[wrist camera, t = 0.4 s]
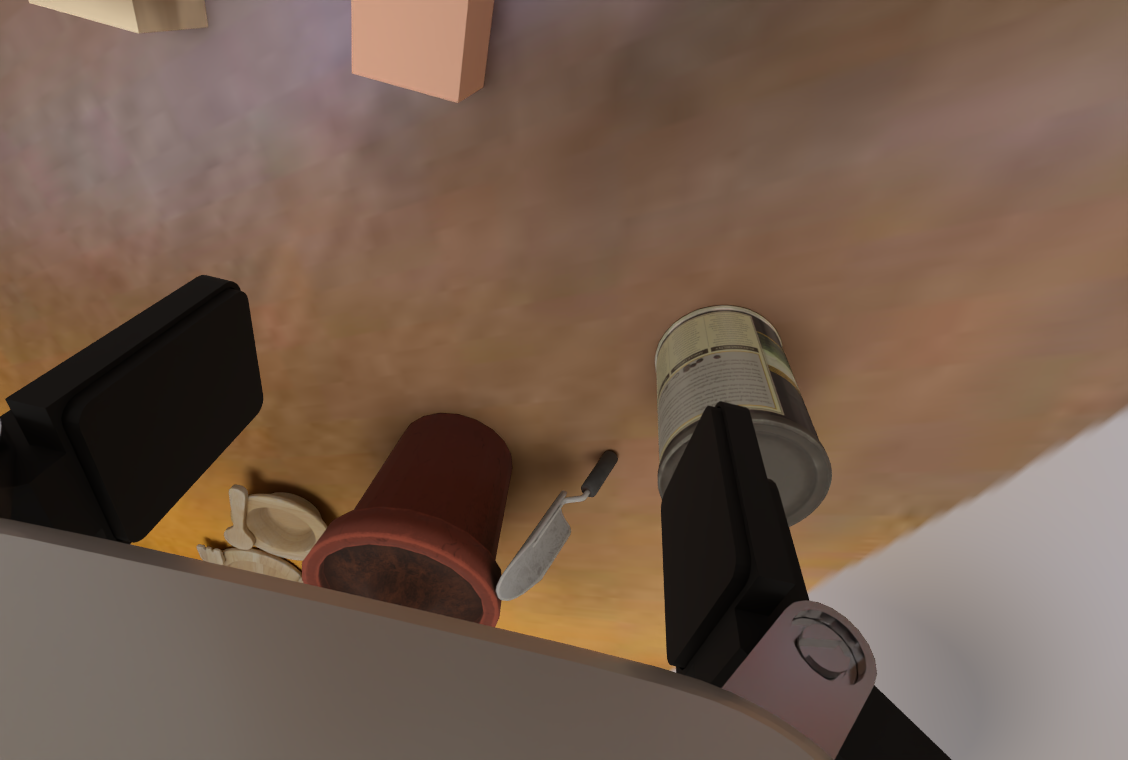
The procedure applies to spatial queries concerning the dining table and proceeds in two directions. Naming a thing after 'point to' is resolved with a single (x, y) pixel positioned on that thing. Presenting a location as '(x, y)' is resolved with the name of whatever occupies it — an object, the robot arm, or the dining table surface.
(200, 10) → the brass cube
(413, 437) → the potted plant
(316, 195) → the dining table surface
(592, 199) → the dining table surface
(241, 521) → the tableware set
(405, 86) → the terracotta cube
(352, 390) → the dining table surface
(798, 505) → the coffee can
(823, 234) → the dining table surface
